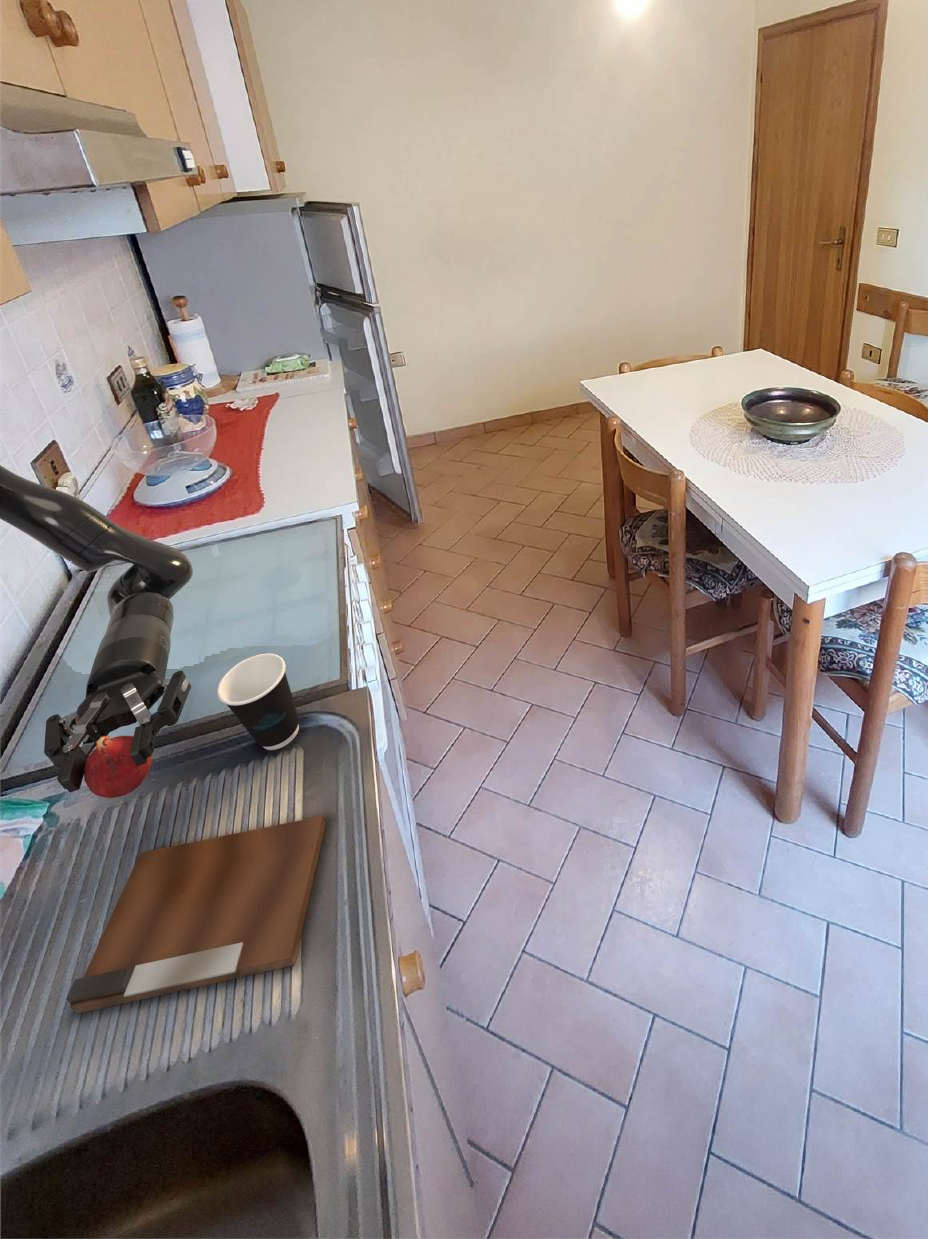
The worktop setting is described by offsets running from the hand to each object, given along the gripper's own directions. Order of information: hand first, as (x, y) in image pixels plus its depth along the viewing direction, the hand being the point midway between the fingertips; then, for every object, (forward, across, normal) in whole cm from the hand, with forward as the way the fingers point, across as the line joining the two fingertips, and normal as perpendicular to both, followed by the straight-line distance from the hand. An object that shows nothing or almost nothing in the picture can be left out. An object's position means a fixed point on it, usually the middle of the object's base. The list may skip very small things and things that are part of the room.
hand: (104, 772), depth 65 cm
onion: (-3, 0, -6) cm, 7 cm away
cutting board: (+9, -6, -15) cm, 19 cm away
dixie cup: (-11, -12, -15) cm, 22 cm away
